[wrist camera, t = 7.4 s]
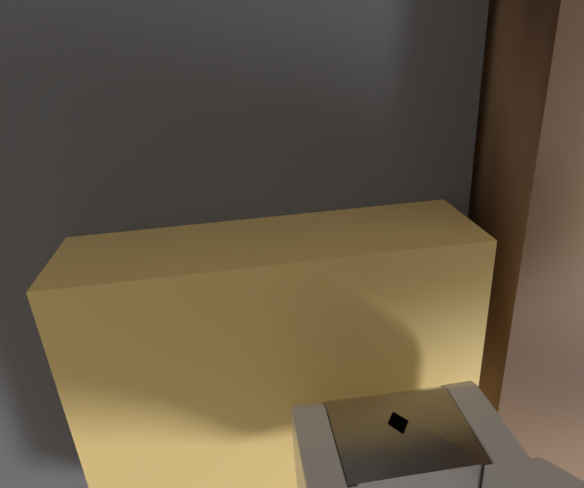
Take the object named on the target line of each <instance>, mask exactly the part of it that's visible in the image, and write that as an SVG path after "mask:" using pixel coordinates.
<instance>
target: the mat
mask: <svg viewBox="0 0 584 488" xmlns="http://www.w3.org/2000/svg"><path fill="white" fill-rule="evenodd" d="M488 9H489V0H0V488H89V487H88V484H87V481H86V478H85V475H84V471H83V468H82V465H81V462H80V459H79V456H78V453H77V450H76V447H75V443H74V440H73V437H72V434H71V431H70V428H69V425H68V422H67V419H66V415H65V412H64V409H63V406H62V403H61V400H60V397H59V394H58V390H57V387H56V384H55V381H54V378H53V375H52V372H51V369H50V366H49V362H48V359H47V356H46V353H45V350H44V347H43V344H42V341H41V338H40V334H39V331H38V328H37V325H36V322H35V319H34V316H33V313H32V310H31V306H30V303H29V300H28V297H27V294H26V292H27V291H28V289H29V288H30V286H31V285H32V284H33V282H34V281H35V280H36V278H37V277H38V275H39V274H40V273H41V271H42V270H43V269H44V267H45V266H46V264H47V263H48V262H49V260H50V259H51V258H52V256H53V255H54V253H55V252H56V251H57V249H58V248H59V247H60V245H61V244H62V242H63V241H64V240H65V238H66V237H74V236H84V235H94V234H104V233H114V232H124V231H134V230H143V229H153V228H163V227H173V226H183V225H193V224H203V223H213V222H223V221H233V220H243V219H253V218H263V217H273V216H283V215H293V214H302V213H312V212H322V211H332V210H342V209H352V208H362V207H372V206H382V205H392V204H402V203H412V202H422V201H432V200H442V199H444V200H445V201H447V202H448V203H449V204H451V205H452V206H453V207H455V208H456V209H457V210H458V211H460V212H461V213H462V214H464V215H465V216H466V217H467V218H468V210H469V200H470V190H471V180H472V170H473V160H474V150H475V140H476V130H477V120H478V110H479V99H480V89H481V79H482V69H483V59H484V49H485V39H486V29H487V19H488Z"/></svg>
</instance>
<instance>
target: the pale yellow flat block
mask: <svg viewBox="0 0 584 488" xmlns="http://www.w3.org/2000/svg"><path fill="white" fill-rule="evenodd" d="M496 246H497V240H496V239H495V238H493V237H492V236H491V235H489V234H488V233H487V232H486V231H484V230H483V229H482V228H480V227H479V226H478V225H476V224H475V223H474V222H473V221H471V220H470V219H469V218H467V217H466V216H465V215H464V214H462V213H461V212H460V211H458V210H457V209H456V208H455V207H453V206H452V205H451V204H449V203H448V202H447V201H445V200H444V199H442V200H432V201H422V202H412V203H402V204H392V205H382V206H372V207H362V208H352V209H342V210H332V211H322V212H312V213H302V214H293V215H283V216H273V217H263V218H253V219H243V220H233V221H223V222H213V223H203V224H193V225H183V226H173V227H163V228H153V229H143V230H134V231H124V232H114V233H104V234H94V235H84V236H74V237H66V238H65V240H64V241H63V242H62V244H61V245H60V247H59V248H58V249H57V251H56V252H55V253H54V255H53V256H52V258H51V259H50V260H49V262H48V263H47V264H46V266H45V267H44V269H43V270H42V271H41V273H40V274H39V275H38V277H37V278H36V280H35V281H34V282H33V284H32V285H31V286H30V288H29V289H28V291H27V292H26V294H27V297H28V300H29V303H30V306H31V310H32V313H33V316H34V319H35V322H36V325H37V328H38V331H39V334H40V338H41V341H42V344H43V347H44V350H45V353H46V356H47V359H48V362H49V366H50V369H51V372H52V375H53V378H54V381H55V384H56V387H57V390H58V394H59V397H60V400H61V403H62V406H63V409H64V412H65V415H66V419H67V422H68V425H69V428H70V431H71V434H72V437H73V440H74V443H75V447H76V450H77V453H78V456H79V459H80V462H81V465H82V468H83V471H84V475H85V478H86V481H87V484H88V487H89V488H297V479H296V470H295V461H294V448H293V434H292V420H291V407H292V406H294V405H303V404H312V403H321V402H322V403H323V401H332V400H341V399H349V398H358V397H366V396H375V395H382V394H389V393H395V392H402V391H409V390H415V389H422V388H429V387H435V386H441V385H446V384H452V383H459V382H465V381H472V382H474V383H475V384H477V385H478V387H479V379H480V372H481V364H482V356H483V348H484V340H485V332H486V324H487V317H488V309H489V301H490V293H491V285H492V277H493V269H494V262H495V254H496Z"/></svg>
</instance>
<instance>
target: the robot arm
mask: <svg viewBox="0 0 584 488" xmlns="http://www.w3.org/2000/svg"><path fill="white" fill-rule="evenodd" d="M291 420H292V434H293V448H294V461H295V470H296V479H297V488H584V481H583V480H581V479H579V478H577V477H576V476H574V475H572V474H570V473H568V472H567V471H565V470H563V469H561V468H559V467H558V466H556V465H554V464H552V463H551V462H549V461H547V460H545V459H543V458H542V457H536V458H530V456H529V455H528V454H527V452H526V451H525V450H524V448H523V447H522V445H521V444H520V443H519V441H518V440H517V439H516V437H515V436H514V435H513V433H512V432H511V430H510V429H509V428H508V426H507V425H506V424H505V422H504V421H503V420H502V418H501V417H500V415H499V414H498V413H497V411H496V410H495V409H494V407H493V406H492V405H491V403H490V402H489V400H488V399H487V398H486V396H485V395H484V394H483V392H482V391H481V390H480V388H479V387H478V385H477V384H475V383H474V382H472V381H465V382H459V383H452V384H446V385H441V386H435V387H429V388H422V389H415V390H409V391H402V392H395V393H389V394H382V395H375V396H366V397H358V398H349V399H341V400H332V401H323V403H322V402H321V403H312V404H303V405H294V406H292V407H291Z"/></svg>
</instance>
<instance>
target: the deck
mask: <svg viewBox="0 0 584 488" xmlns="http://www.w3.org/2000/svg"><path fill="white" fill-rule="evenodd" d="M468 218H469V219H470V220H471V221H473V222H474V223H475V224H476V225H478V226H479V227H480V228H482V229H483V230H484V231H486V232H487V233H488V234H489V235H491V236H492V237H493V238H495V239H496V240H497V246H496V254H495V262H494V269H493V277H492V285H491V293H490V301H489V309H488V317H487V324H486V332H485V340H484V348H483V356H482V364H481V372H480V379H479V388H480V390H481V391H482V392H483V394H484V395H485V396H486V398H487V399H488V400H489V402H490V403H491V405H492V406H493V407H494V409H495V410H496V411H497V413H498V414H499V415H500V417H501V418H502V420H503V421H504V422H505V424H506V425H507V426H508V428H509V429H510V430H511V432H512V433H513V435H514V436H515V437H516V439H517V440H518V441H519V443H520V444H521V445H522V447H523V448H524V450H525V451H526V452H527V454H528V455H529V456H530V458H536V457H542V458H543V459H545V460H547V461H549V462H551V463H552V464H554V465H556V466H558V467H559V468H561V469H563V470H565V471H567V472H568V473H570V474H572V475H574V476H576V477H577V478H579V479H581V480H583V481H584V0H489V9H488V19H487V29H486V39H485V49H484V59H483V69H482V79H481V89H480V99H479V110H478V120H477V130H476V140H475V150H474V160H473V170H472V180H471V190H470V200H469V210H468Z"/></svg>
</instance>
